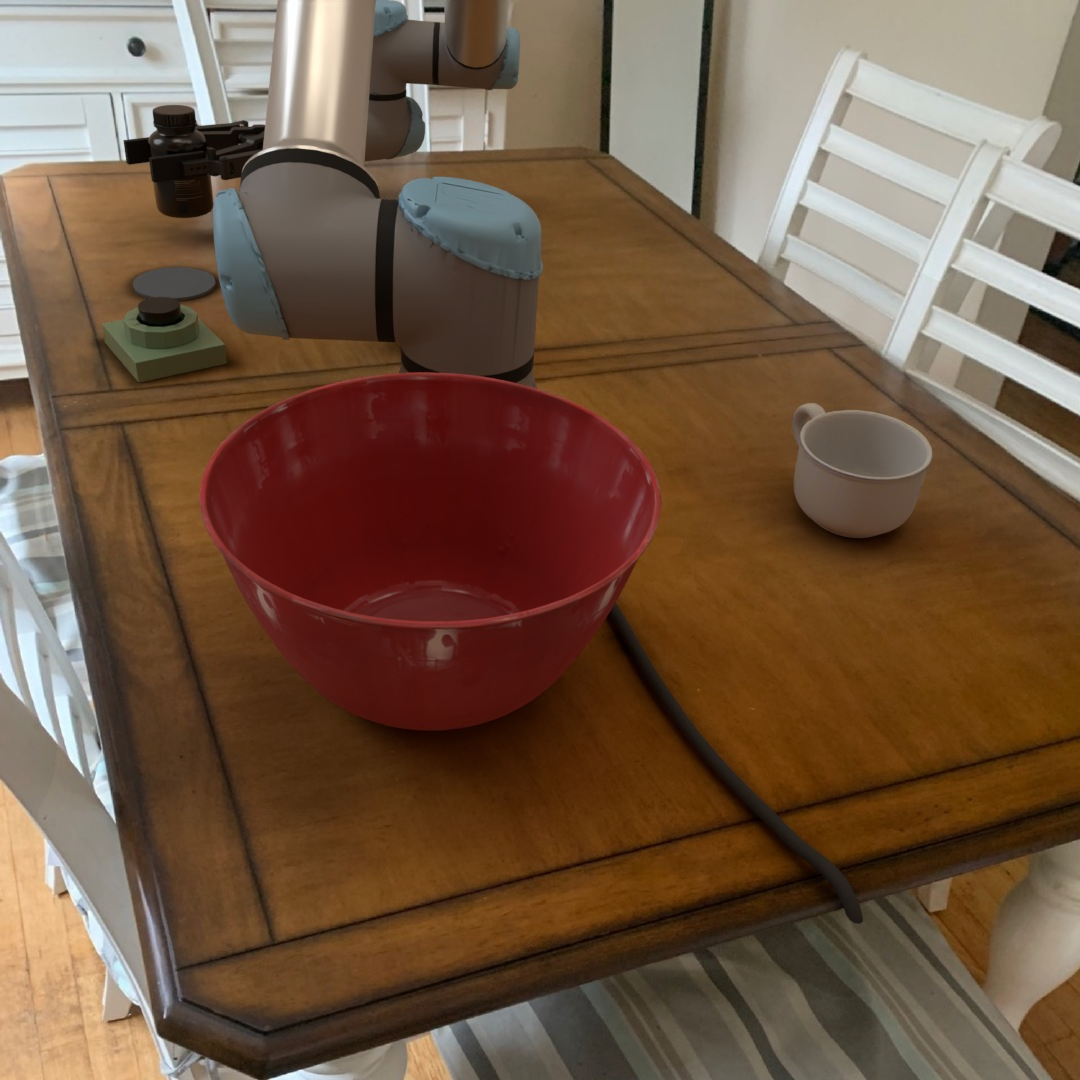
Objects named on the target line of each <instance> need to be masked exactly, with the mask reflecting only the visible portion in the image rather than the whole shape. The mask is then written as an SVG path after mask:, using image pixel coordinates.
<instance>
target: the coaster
mask: <svg viewBox="0 0 1080 1080" xmlns="http://www.w3.org/2000/svg"><path fill="white" fill-rule="evenodd" d="M132 286H133V287H132V288H133V290H134V292H135V293H136V294H137V295H138V296H141V297H143V298H145V299H148V298H153V297H169V298H173V299H176V300H178V301H179V302H184V301H189V300H190V301H191V300H196V299H198V298H201V297H204V296H206V295H208V294H210V293H211V292H213V291H214V290H215V288H216V286H217V281H216V278H215V277H214V275H213V274H211V273H210V272H208V271H206V270H202V269H199V268H193V267H185V266H172V267H171V266H169V267H160V268H156V269H151V270H148V271H146V272H145V271H144V272H143V273H141V274H140V275H138V276H136V278H135V279H133V282H132Z"/></svg>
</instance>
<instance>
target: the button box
mask: <svg viewBox="0 0 1080 1080" xmlns="http://www.w3.org/2000/svg"><path fill="white" fill-rule="evenodd" d="M180 307H181V315H182V321H181V322H179V323H177V324H175V325H171V326H166V327H150V326H146V325H143V324H141V323H140V318H139V311H138V306H137V307H134V308H133V309H130V310H129V311H127V312H126V314H125V315H124V318H123V319H119V320H113V321H108V322H107V321H106V322H102V323H101V327H102V331H103V332H102V333H103V339H104V344H105V345H106V346H107V347H108V348H109V349H110V351H111V352H112V353H113V354H114V355H115V357H116V358H117V359H118V360H119V361H120V363H121V364H122V365H123V366H124V368H125V369H126V370H127V371H128V372H129V374H131V376H132V377H133V378H134V379H135V380H136V381H137V383H139V384H140V383H144V382H145V383H146V382H148V381H154V380H159V379H163V378H167V377H173V376H177V375H181V374H187V373H191V372H195V371H196V372H197V371H201V370H205V369H210V368H214V367H219V366H223V365H227V363H228V362H227V360H228V359H227V351H226V344H225V343H224V342H223V341H222V340H221V339H220V338H219V337H218V336H217V335H216V334H215V333H214V332H213V331H212V330H211V328H209V327H208V326H207V325H206V324H205V323H204V322H203V321H202V320H201V319H200V318H199V314H198V313H197V312H196V311H195V310H194V309H193V308H192V307H190V306H187V305H184V304H180Z"/></svg>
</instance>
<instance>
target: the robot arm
mask: <svg viewBox="0 0 1080 1080" xmlns="http://www.w3.org/2000/svg"><path fill="white" fill-rule="evenodd" d="M443 5H444V6H443V8H444V9H443V10H444V22H439V21H429V20H428V21H427V20H417V19H416V20H415V19H408V18H409V16H408V14H407V7H406V6H405V4H403V3H402V2H401V1H397V0H277V4H276V14H275V23H274V34H273V44H272V53H271V65H270V73H269V84H268V94H267V103H266V113H265V123H264V124H261V123H260V124H252V125H251V126H249V121H247V120H245V119H241V120H238V121H235V122H234V121H233V122H228V123H216V124H215V123H214V124H204V125H203V124H202V125H197V126H196V127H195V129H196V130H197V131H199V132H201V133H202V134H203V135H204V137H205V138H206V140H207V146H208V147H207V157H208V158H205V152H204V151H195V152H187V153H180V154H172V155H164V156H157V157H150V156H149V149H148V139H149V137H150V136H147V137H139V138H131V139H130V138H129V139H123V140H122V141H123V147H124V148H123V149H124V154H125V161H126V162H125V163H126V164H127V165H129V166H132V165H138V164H145V163H149V169H150V179H151V182H152V183H153V182H154V183H157V182H164V181H170V180H177V179H184V178H191V177H198V176H205V175H207V173H209V175H210V176H211V177H219V176H220V180H223V181H229V180H230V181H231V180H234V179H239V178H240V181H239V189H237V188H234V187H228V188H227V189H221V190H219V191H218V192H217V193H216V195H215V198H214V199H213V203H214V205H213V209H212V228H213V231H212V232H213V244H214V254H215V261H216V262H215V263H216V268H217V269H216V270H217V275H218V281H219V285H220V291H221V294H222V298H223V303H224V305H225V309H226V312H227V314H228V316H229V318H230V320H231V321H232V324H234V326H235V327H236V328H237V329H239V330H240V331H242V332H244V333H245V334H250V335H259V336H268V337H269V336H270V337H279V338H281V339H283V340H286V341H290V339H305V340H328V341H351V342H354V341H355V342H374V343H375V342H377V343H378V342H379V343H396V344H397V343H401V346H400V366H399V367H400V369H399V371H398V373H414V372H429V373H453V374H464V375H474V376H482V377H488V378H494V379H499V380H504V381H509V382H513V383H518V384H522V385H526V386H530V387H533V388H536V389H538V387H537V382H536V379H535V376H534V375H535V374H534V363H535V360H534V359H535V346H536V345H535V344H536V330H537V329H536V328H537V315H538V313H537V312H538V299H539V298H538V296H539V283H540V282H539V281H540V276H542V275H543V270H544V264H543V260H542V226H541V222H540V219H539V217H538V215H537V213H536V212H535V211H534V210H533V208H532V207H530V205H529V204H528V203H526V202H525V201H524V200H522V199H521V198H519V197H517V196H516V195H514V194H512V193H510V192H508V191H506V190H504V189H501V188H499V187H496V186H493V185H490V184H487V183H485V182H480V181H476V180H471V179H466V178H460V177H453V176H452V177H451V176H433V177H432V178H429V177H419V178H415V179H412V180H410V181H408V182H407V183H405V184H404V185H403V186H402V189H401V191H400V193H399V194H398V199H388V198H387V199H385V198H381V191H380V186H379V184H378V182H377V180H376V178H375V176H374V175H373V174H372V173H371V171H370V170H369V169H368V168H366V167H365V162H373V161H381V160H393V159H395V158H396V159H397V158H400V157H405V156H407V155H411V154H414V153H416V152H417V151H418V150H420V148H422V146H423V143H424V140H425V136H426V122H425V121H424V120H423V116H424V115H423V114H424V113H423V110H422V107H420V106H421V105H419V103H418V101H416V100H415V99H414V98H413V97H412V96H411V97H410V96H407V85H408V84H409V85H410V84H411V85H412V84H413V85H425V86H427V85H429V86H439V87H440V86H441V87H454V88H466V89H467V88H468V89H479V90H485V91H492V90H511V89H514V88H515V87H516V86H517V85H518V82H519V74H520V73H519V70H520V58H521V57H520V56H521V55H520V54H521V34H520V32H519V31H518V29H516V28H514V27H511V26H508V22H509V21H508V20H509V9H510V0H443ZM608 615H609V617H610V618H611V620H612V622H613V624H614V626H615V627H616V629H617V630H618V632H619V634H620V635H621V637H622V640H623V641H624V642H625V645H626V646H627V648H628V650H629V652H630V654H631V656H632V658H633V659H634V661H635V662H636V664H637V666H638V669H639V670H640V671H641V673H642V674H643V677H644V678H645V680H646V682H647V683H648V684H649V686H650V687H651V689H652V690H653V692H654V693H655V695H656V696H657V698H658V699H659V701H660V702H661V704H662V705H663V707H664V708H665V710H666V711H667V713H668V714H669V715H670V717H671V718H672V720H673V721H674V723H675V724H676V726H677V727H678V728H679V729H680V732H682V733H683V735H684V736H685V738H686V739H687V740H688V742H690V744H691V745H692V746H693V748H694V749H695V750H696V751H697V752H698V754H699V755H700V756H701V757H702V759H703V760H704V761H705V763H706V764H708V766H709V767H710V768H711V769H712V770H713V772H714V773H716V775H717V776H718V777H719V778H720V779H721V780H722V781H723V782H724V784H726V786H727V787H728V788H729V789H730V790H731V791H732V792H733V793H734V794H735V795H736V796H737V797H738V798H739V799H740V800H741V801H742V802H743V803H744V804H745V805H746V806H747V807H748V808H749V809H750V810H751V811H752V812H753V813H754V814H755V815H756V816H757V817H758V819H760V820H761V821H762V822H763V823H764V824H765V825H766V826H767V827H768V828H769V829H770V830H771V831H772V832H773V833H774V835H776V836H777V838H778V839H780V840H781V842H783V843H784V844H785V845H786V846H787V847H788V848H789V849H790V850H791V851H792V852H793V853H794V854H796V855H797V856H799V857H800V858H801V859H802V860H804V861H805V863H807V864H809V865H810V866H811V867H813V868H814V869H815V870H816V871H817V872H818V873H820V874H821V875H822V876H823V877H824V878H825V879H826V880H827V882H828V883H829V884H830V885H831V886H832V888H833V890H834V891H835V893H836V895H837V896H838V898H839V901H840V904H841V905H842V907H843V910H844V914H845V916H846V917H847V918H848V920H849V921H851V922H852V923H854V924H858V925H860V924H862V923H863V922H864V915H863V912H862V909H861V908H862V907H861V905H860V903H859V900H858V897H857V895H856V894H855V891H854V890H853V887H852V886H851V883H849V881H848V879H847V877H845V875H844V874H843V872H842V871H841V870H840V869H839V868H838V867H837V866H836V865H835V864H834V863H833V862H832V861H831V860H829V859H828V858H827V857H826V856H825V855H824V854H822V853H821V852H819V850H817V849H816V848H814V847H813V846H812V845H811V844H809V843H807V842H806V841H805V840H804V839H803V838H802V837H801V836H799V835H798V834H797V833H796V832H795V831H794V830H793V829H792V828H791V826H789V825H788V824H787V823H786V822H785V821H784V820H783V819H782V818H781V817H780V816H779V815H778V814H777V813H776V812H775V811H774V809H772V808H771V807H770V806H769V805H768V804H767V803H766V801H764V800H763V799H762V798H761V797H760V796H759V795H758V794H756V792H755V791H754V790H753V789H752V788H751V787H750V786H749V785H748V784H747V783H746V782H744V780H743V779H742V778H741V777H739V775H738V774H737V773H736V772H735V771H734V770H733V769H732V767H730V765H729V764H728V763H727V762H725V760H724V759H723V758H722V757H721V755H720V754H718V752H717V751H716V750H715V749H714V747H713V746H712V745H711V744H710V743H709V742H708V740H707V739H706V738H705V737H704V735H703V734H702V733H701V732H700V730H699V729H698V728H697V727H696V725H695V724H694V723H693V721H692V720H691V718H689V717H688V715H687V714H686V712H685V711H684V709H683V708H682V706H681V705H680V704H679V702H678V701H677V700H676V698H675V696H674V695H673V694H672V692H671V690H670V689H669V688H668V686H667V684H666V683H665V681H664V680H663V678H662V677H661V676H660V674H659V673H658V671H657V669H656V668H655V666H654V665H653V663H652V661H651V659H650V658H649V657H648V655H647V653H646V651H645V650H644V647H643V646H642V644H641V643H640V641H639V639H638V637H637V636H636V634H635V632H634V630H633V628H632V626H631V625H630V623H629V622H628V620H627V618H626V617H625V615H624V613H623V611H622V610H621V609H620V607H619V605H618V604H617V602H616V603H615V604H614V606H613V608H612V609H611V611H610V613H609V614H608Z"/></svg>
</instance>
